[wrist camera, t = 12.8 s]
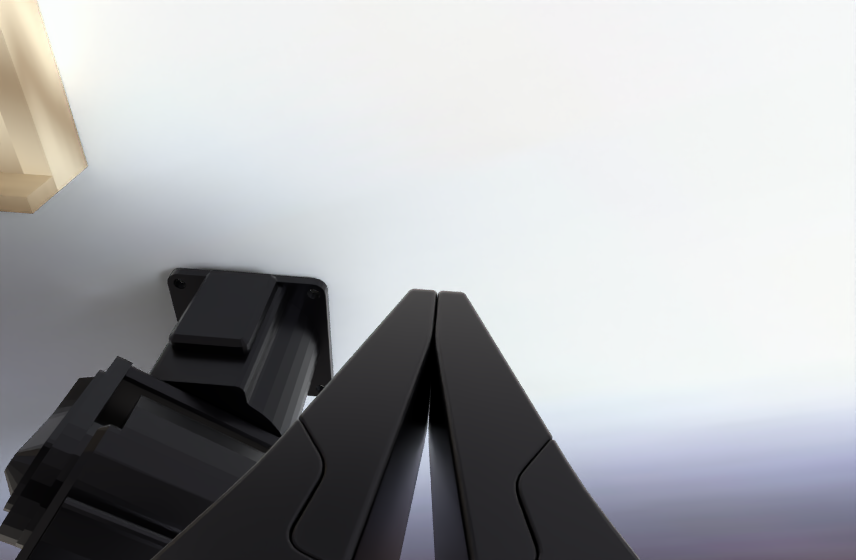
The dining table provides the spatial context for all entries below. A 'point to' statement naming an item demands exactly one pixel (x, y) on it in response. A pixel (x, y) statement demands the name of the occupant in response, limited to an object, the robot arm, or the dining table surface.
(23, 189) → the trap box
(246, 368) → the robot arm
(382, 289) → the dining table surface
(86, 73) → the dining table surface
